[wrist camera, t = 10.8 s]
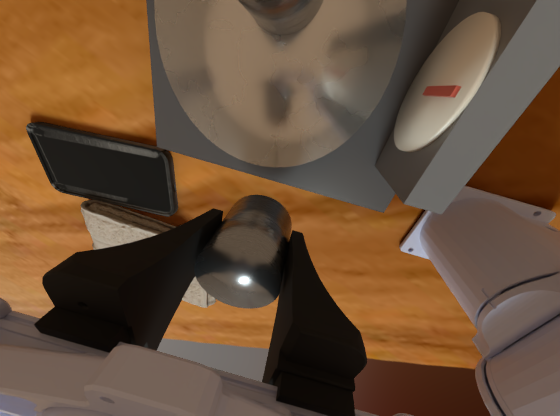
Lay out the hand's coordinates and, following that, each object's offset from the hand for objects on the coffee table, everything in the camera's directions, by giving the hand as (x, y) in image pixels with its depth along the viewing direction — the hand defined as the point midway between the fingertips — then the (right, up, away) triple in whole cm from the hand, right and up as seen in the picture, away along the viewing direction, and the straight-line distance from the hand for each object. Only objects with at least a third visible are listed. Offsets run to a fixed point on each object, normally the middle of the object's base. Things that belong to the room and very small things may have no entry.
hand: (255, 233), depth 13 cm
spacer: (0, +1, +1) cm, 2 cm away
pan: (+1, +11, 0) cm, 11 cm away
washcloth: (-14, -4, +16) cm, 22 cm away
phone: (-17, +6, +10) cm, 21 cm away
